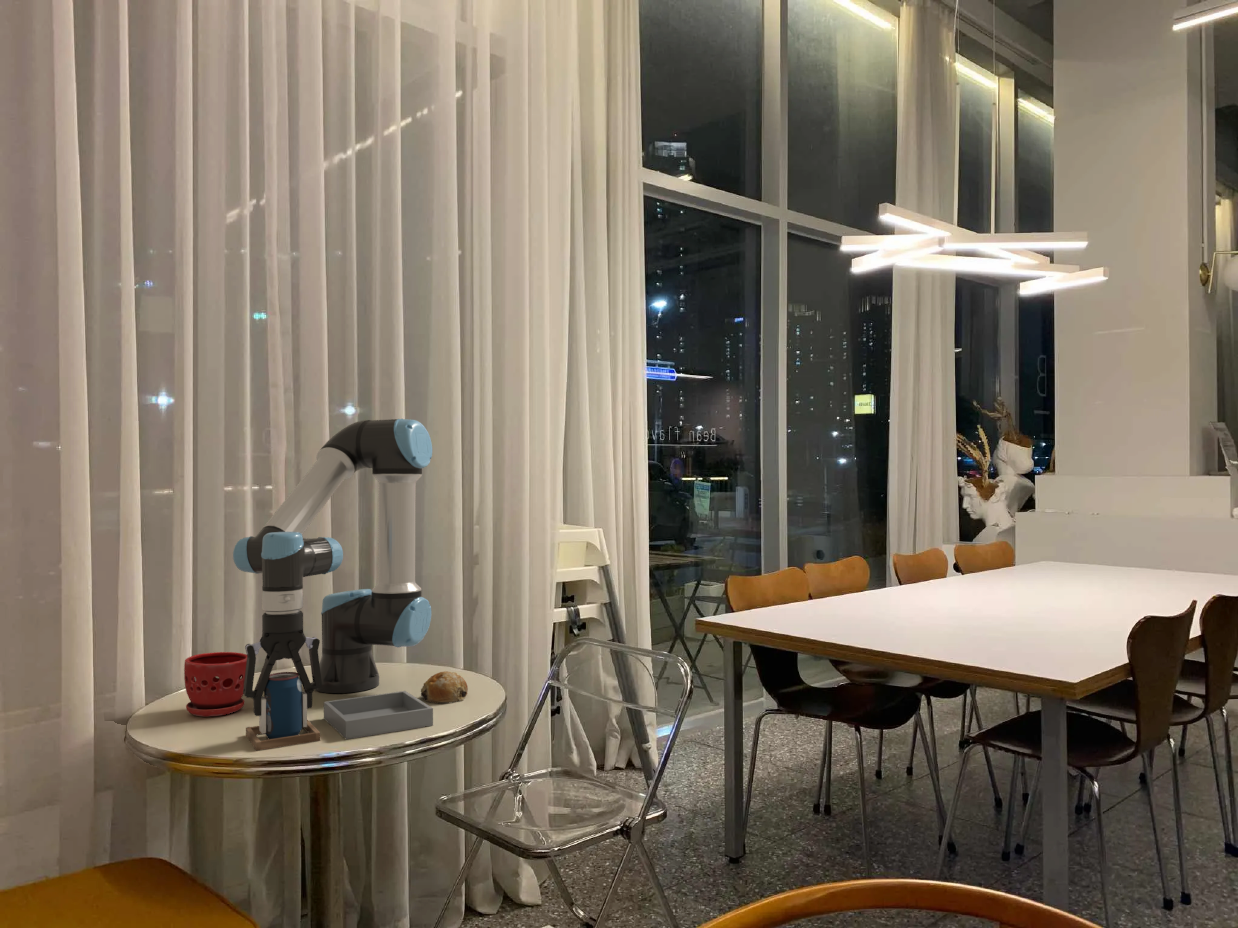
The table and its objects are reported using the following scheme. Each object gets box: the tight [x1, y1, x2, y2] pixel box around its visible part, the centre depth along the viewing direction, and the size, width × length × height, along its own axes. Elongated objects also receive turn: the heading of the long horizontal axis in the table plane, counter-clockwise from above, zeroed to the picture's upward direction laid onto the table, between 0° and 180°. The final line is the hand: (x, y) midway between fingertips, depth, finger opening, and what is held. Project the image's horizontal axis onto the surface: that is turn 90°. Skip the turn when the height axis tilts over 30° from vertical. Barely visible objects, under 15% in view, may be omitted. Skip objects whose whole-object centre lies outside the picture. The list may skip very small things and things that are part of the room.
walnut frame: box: [245, 719, 321, 751], centre depth 173 cm, size 12×12×2 cm
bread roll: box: [420, 670, 469, 704], centre depth 203 cm, size 10×10×8 cm
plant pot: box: [183, 651, 247, 718], centre depth 192 cm, size 13×13×12 cm
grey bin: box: [323, 690, 434, 740], centre depth 184 cm, size 18×18×4 cm
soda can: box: [263, 671, 303, 740], centre depth 173 cm, size 7×7×12 cm
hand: (283, 728), depth 173 cm, fingers closed on soda can, 7 cm apart
